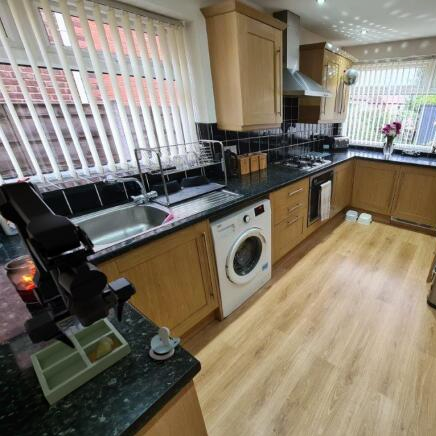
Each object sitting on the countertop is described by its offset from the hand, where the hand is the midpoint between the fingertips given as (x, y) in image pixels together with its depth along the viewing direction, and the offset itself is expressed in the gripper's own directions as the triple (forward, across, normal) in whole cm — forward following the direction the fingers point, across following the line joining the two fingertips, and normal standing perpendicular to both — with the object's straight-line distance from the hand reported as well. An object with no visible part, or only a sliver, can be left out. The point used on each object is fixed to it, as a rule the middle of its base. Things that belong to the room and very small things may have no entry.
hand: (97, 333), depth 58 cm
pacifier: (+8, +9, -10) cm, 16 cm away
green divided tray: (+7, -4, +4) cm, 9 cm away
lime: (+7, 0, 0) cm, 7 cm away
